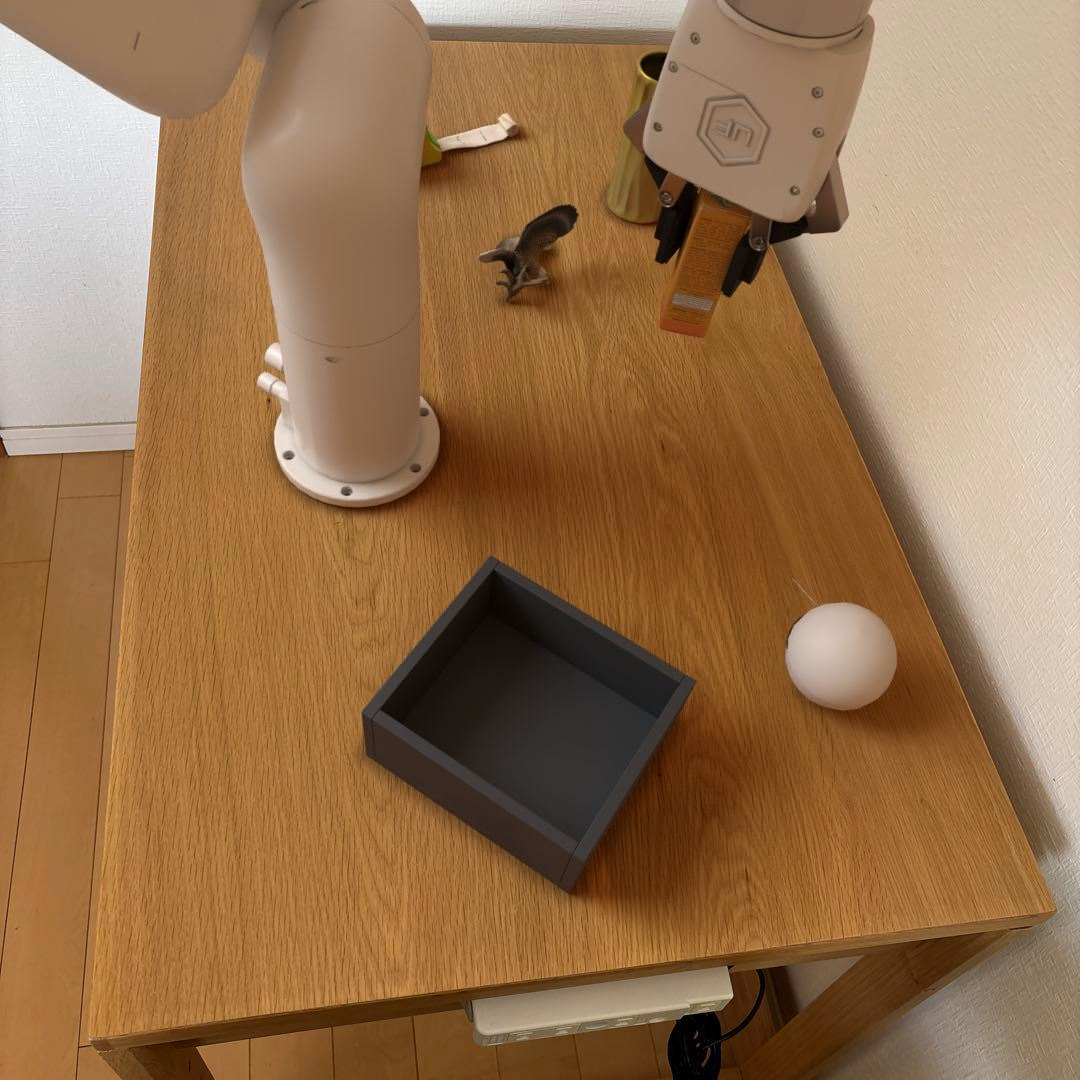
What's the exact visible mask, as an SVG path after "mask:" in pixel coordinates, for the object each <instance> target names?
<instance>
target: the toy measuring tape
mask: <svg viewBox="0 0 1080 1080" xmlns="http://www.w3.org/2000/svg"><path fill="white" fill-rule="evenodd" d="M497 121H498V122H497V123H493V124H492V125H485V126H481V127H477V128H475V129H474V128H473V129H471V130H467V131H465V132H461V133H456V134H452V135H448V136H445V137H442V138H438V139H436V138H435V137H434V136H433V134H432V132H431V131H430V130H429V127H428V123H427V122H426V130H425V137H424V144H423V152H422V162H421V167H425V166H430V165H433V164H437V163H440V162H441V161H442V158H443V153H444V152H447V151H449V150H450V151H451V150H455V149H465V148H466V149H467V148H468V149H469V148H474V149H476V148H477V147H478V148H479V147H484V146H488V145H491V144H494V143H498V142H500V141H503V140H506V139H507V138H508V137H510V138H513V137H514V136H515V135H517V133H518V132H519V128H520V127H519V125H518V124H517V123H516V121H515V120H514V119H513V117H512V116H511V114H510V113H508V112H507V113H506V112H505V113H502V114H501V115H500V116H499V117H498V118H497Z"/></svg>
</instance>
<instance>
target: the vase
mask: <svg viewBox="0 0 1080 1080" xmlns="http://www.w3.org/2000/svg"><path fill="white" fill-rule="evenodd" d="M668 51H669V49H659V48H658V49H652V50H648V51H646V52H644V53H642V54H641V55H640V56H639V57H638V59H637V61H636V64H635V69H634V75H633V79H632V80H633V81H632V84H631V89H630V95H629V100H628V104H627V108H626V113H625V117H624V121H623V122H624V123H625V122H626V121H627V120H628V119H629V118H630V117H631V116H632V115H633V114H634V113H635V112H636V111H637V110H638V109H640V108H641V107H642V106H643V105H645V104H646V103H647V102H648V101H650V100H651V99H652V98H653V96H654V93H655V90H656V87H657V84H658V81H659V78H660V75H661V72H662V69H663V66H664V63H665V60H666V57H667V54H668ZM624 123H623V124H624ZM659 126H660V125H659ZM659 128H660V127H659ZM644 158H645V157H644V156H643V154H640V153H639V152H638V150H637V149H636V148H635V146H634V145H633V144H632V142H631V141H630V140H629V139H628V137H627V136H626V135H625V133H624V131H623V130H622V132H621V135H620V141H619V145H618V149H617V154H616V158H615V163H614V166H613V170H612V173H611V178H610V183H609V187H608V190H607V192H606V196H605V197H606V198H605V199H606V204H607V206H608V208H609V209H610V210H611V212H612V213H613V214H614V215H615V216H617V217H619V218H620V219H622V220H624V221H627V222H630V223H634V224H641V225H642V224H652V223H655V222H658V219H659V215H660V212H661V208H662V205H661V204H660V203H659V201H658V199H657V194H658V192H659V189H658V187H657V185H656V183H655V181H654V179H653V178H652V176H651V174H650V172H649V170H648V168H647V166H646V164H645V161H644Z"/></svg>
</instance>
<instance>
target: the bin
mask: <svg viewBox="0 0 1080 1080" xmlns="http://www.w3.org/2000/svg"><path fill="white" fill-rule="evenodd" d="M697 682H698V681H697V680H696V679H695V678H693V677H692V676H690V675H688V674H686V673H685V672H684V671H682V670H680V669H679V668H677V667H675V666H673V665H671V664H670V663H669V662H668V661H665V660H663V659H662V658H660V657H659V656H657V655H655V654H653V652H651V651H649V650H647V649H645V648H644V647H642V646H641V645H639V644H638V643H636V642H634V641H633V640H631V639H629V638H628V637H626V636H624V635H623V634H621V633H620V632H617V631H616V630H614V629H613V628H611V627H609V626H608V625H606V624H605V623H604V622H601V621H600V620H598V619H596V618H595V617H593V616H592V615H589V614H588V613H587V612H585V611H583V610H581V609H580V608H578V607H576V606H575V605H573V604H572V603H570V602H568V601H566V600H565V599H564V598H562V597H561V596H559V595H557V594H555V593H553V592H552V591H550V590H548V589H547V588H545V587H544V586H542V584H541V585H540V584H539V583H537V582H535V581H534V580H532V579H531V578H529V577H527V576H526V575H524V574H523V573H521V572H519V571H518V570H516V569H514V568H513V567H511V566H509V565H507V564H506V563H504V562H503V561H501V560H500V559H499V558H496V557H495V556H493V555H492V554H491V555H489V556H488V557H487V559H486V560H485V561H484V562H483V563H482V565H481V566H480V567H479V568H478V569H477V571H476V572H475V573H474V575H472V577H471V578H470V579H469V580H468V582H467V583H466V584H465V585H464V586H463V588H462V589H461V590H460V591H459V593H458V594H457V595H456V596H455V598H453V600H452V601H451V602H450V603H449V604H448V606H447V607H446V608H445V610H444V611H443V612H442V613H441V615H440V616H439V617H438V618H437V619H436V620H435V622H434V623H433V624H432V625H431V626H430V627H429V629H428V630H427V632H426V633H425V634H424V635H423V636H422V637H421V638H420V640H419V641H418V642H417V644H416V645H415V646H414V647H413V648H412V650H410V652H409V653H408V655H406V657H405V658H404V659H403V660H402V662H401V663H400V664H399V665H398V666H397V668H396V669H394V671H393V672H392V674H391V675H390V676H389V677H388V678H387V680H386V681H385V682H384V684H383V685H382V686H381V687H380V688H379V689H378V691H377V692H376V693H375V695H374V696H373V697H372V698H371V700H370V701H369V702H368V703H367V704H366V705H365V707H363V709H362V710H361V712H360V714H361V721H362V729H363V730H362V731H363V739H364V747H365V756H366V757H368V758H370V759H371V760H372V761H374V762H375V763H377V764H378V765H379V766H381V767H383V768H384V769H385V770H387V771H389V772H390V773H391V774H393V775H395V777H397V778H398V779H400V780H401V781H403V782H405V783H406V784H408V785H409V786H410V787H412V789H415V790H416V791H417V792H419V793H421V794H422V795H423V796H425V797H426V798H427V799H429V800H431V801H432V802H433V803H435V804H437V805H438V806H439V807H441V808H443V810H445V811H447V812H448V813H450V814H451V815H453V816H454V817H455V818H457V819H458V820H460V821H461V822H463V823H464V824H465V825H467V826H468V827H470V828H472V829H473V830H475V831H476V832H477V833H478V834H480V835H481V836H483V837H485V838H486V839H488V840H489V841H490V842H492V843H493V844H495V845H497V846H498V847H499V848H501V849H502V850H504V851H505V852H507V853H508V854H510V855H511V856H512V857H514V858H515V859H516V860H518V861H519V862H521V863H523V864H524V865H526V866H527V867H528V868H529V869H531V870H533V871H534V872H536V873H537V874H539V875H540V876H541V877H543V878H545V879H546V880H547V881H549V882H550V883H552V884H554V885H555V886H556V887H558V888H559V889H560V890H562V891H563V892H565V893H566V894H571V892H572V891H573V889H574V887H575V885H576V884H577V882H578V881H579V879H580V877H581V876H582V875H583V872H584V871H585V869H586V868H587V866H588V864H589V863H590V861H591V860H592V858H593V856H594V855H595V853H596V851H597V850H598V848H599V847H600V846H601V843H602V842H603V840H604V839H605V837H606V835H607V834H608V832H609V830H610V829H611V827H612V826H613V824H614V822H615V821H616V819H617V818H618V816H619V815H620V813H621V811H622V810H623V808H624V806H625V805H626V803H627V801H628V800H629V798H630V797H631V796H632V793H633V791H634V790H635V788H636V787H637V785H638V783H639V782H640V780H641V779H642V777H643V776H644V774H645V772H646V770H647V769H648V767H649V766H650V764H651V762H652V761H653V759H654V758H655V756H656V754H657V753H658V751H659V749H660V747H661V746H662V745H663V743H664V742H665V740H666V739H667V736H668V735H669V733H670V732H671V730H672V729H673V727H674V726H675V723H676V721H677V719H678V718H679V716H680V714H681V712H682V710H683V708H684V707H685V704H686V703H687V701H688V699H689V697H690V696H691V693H692V692H693V690H694V688H695V686H696V685H697Z"/></svg>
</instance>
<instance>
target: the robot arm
mask: <svg viewBox="0 0 1080 1080" xmlns="http://www.w3.org/2000/svg"><path fill="white" fill-rule="evenodd" d="M873 2H874V0H688V1H687V3H686V5H685V7H684V10H683V12H682V15H681V18H680V19H679V21H678V25H677V27H676V30H675V33H674V35H673V38H672V40H671V42H670V46H669V48H668V50H669V51H668V54H667V57H666V60H665V63H664V66H663V69H662V72H661V75H660V78H659V81H658V84H657V87H656V90H655V93H654V96H653V98H652V99H651V100H650V101H648V102H647V103H646V104H645V105H643V106H642V107H641V108H640V109H638V110H637V111H636V112H635V113H634V114H633V115H632V116H631V117H630V118H629V119H628V120H627V121H626V122H625V121H624V122H625V123H623V125H622V131H624V133H625V135H626V136H627V137H628V139H629V140H630V141H631V142H632V144H633V145H634V146H635V148H636V149H637V150H638V152H639V153H640V154H643V156H644V157H645V158H644V161H645V164H646V166H647V168H648V170H649V172H650V174H651V176H652V178H653V179H654V181H655V183H656V185H657V187H658V189H659V192H658V194H657V199H658V201H659V203H660V204H661V205H662V208H661V212H660V215H659V219H658V220H657V222H656V227H655V231H654V233H653V234H654V235H653V239H655V240H657V241H659V242H658V246H657V250H656V254H655V258H654V262H655V263H658V264H660V265H664V264H665V265H667V264H668V263H669V262H670V261H671V259H672V258H673V256H674V255H675V254H677V252H678V251H679V248H680V245H681V242H682V239H683V236H684V234H685V231H686V228H687V225H688V222H689V219H690V217H691V214H692V211H693V208H694V205H695V203H696V200H697V197H698V194H699V188H700V189H701V188H703V189H705V190H707V191H709V192H711V193H714V194H716V195H718V196H720V197H722V198H724V199H726V200H728V201H730V202H733V203H735V204H737V205H739V206H741V207H743V208H745V209H748V210H750V211H752V217H751V219H750V223H749V228H748V229H747V230H746V231H745V234H744V236H743V238H742V239H741V240H740V241H739V243H738V244H737V246H736V249H735V251H734V254H733V257H732V260H731V262H730V265H729V268H728V271H727V274H726V276H725V279H724V282H723V285H722V288H721V291H722V293H721V295H723V296H724V297H727V298H728V299H731V297H732V296H733V295H734V293H735V292H736V291H737V290H738V289H739V287H740V285H741V284H742V283H745V284H748V285H749V286H750V285H751V284H752V283H753V282H754V281H755V279H756V277H757V275H758V274H759V272H760V270H761V267H762V266H763V263H764V261H765V258H766V255H767V253H768V250H769V247H770V246H771V245H772V246H773V245H775V244H779V243H782V242H784V241H789V240H792V239H796V238H799V237H801V236H802V235H803V234H809V235H818V234H819V235H820V234H830V233H831V234H832V233H833V234H834V233H838V232H839V231H840V230H841V229H842V228H843V226H844V225H845V223H846V221H847V220H848V219H849V216H850V211H849V205H848V201H847V197H846V191H845V186H844V182H843V177H842V172H841V168H840V167H841V166H840V163H839V158H840V156H841V154H842V153H841V152H842V150H843V148H844V145H845V142H846V139H847V136H848V133H849V131H850V128H851V124H852V121H853V119H854V115H855V112H856V108H857V106H858V102H859V99H860V96H861V92H862V89H863V85H864V81H865V78H866V74H867V70H868V65H869V61H870V58H871V53H872V48H873V42H874V36H875V30H876V24H875V20H874V17H873V16H872V15H871V14H869V12H870V9H871V6H872V4H873ZM0 24H1V25H2V26H4V27H6V28H7V29H9V30H10V31H12V32H13V33H15V34H17V35H18V36H20V37H21V38H23V39H24V40H25V41H28V42H29V43H31V44H32V45H34V46H35V47H37V48H39V49H40V50H42V51H43V52H45V53H46V54H48V55H50V56H51V57H53V58H55V59H56V60H57V61H58V62H61V63H62V64H64V65H65V66H67V67H69V68H70V69H72V70H73V71H74V72H76V73H78V74H79V75H80V76H83V77H84V78H86V79H87V80H89V81H90V82H92V83H93V84H95V85H97V86H98V87H100V88H102V89H103V90H104V91H106V92H108V93H109V94H111V95H113V96H115V97H116V98H118V99H120V100H122V101H123V102H125V103H127V104H128V105H130V106H132V107H134V108H136V109H137V110H140V111H142V112H144V113H147V114H149V115H152V116H155V117H158V118H162V119H166V120H173V121H174V120H191V119H195V118H196V117H199V116H201V115H204V114H206V113H208V112H209V111H211V110H212V109H213V108H214V107H215V106H216V105H217V104H218V103H219V102H220V101H221V100H222V99H223V98H224V97H225V96H226V94H227V93H228V92H229V90H230V88H231V86H232V84H233V82H234V80H235V78H236V76H237V74H238V72H239V70H240V67H241V66H242V64H243V61H244V58H245V56H246V54H247V55H249V56H251V57H252V58H254V59H255V60H257V61H258V62H259V63H261V64H262V65H263V66H262V69H261V70H260V71H261V72H260V74H259V78H258V82H257V85H256V88H255V91H254V95H253V98H252V101H251V105H250V108H249V113H248V116H247V121H246V125H245V126H246V127H245V129H244V135H243V141H242V150H241V151H242V152H241V182H242V188H243V194H244V198H245V201H246V205H247V208H248V211H249V213H250V216H251V219H252V222H253V225H254V227H255V230H256V232H257V236H258V239H259V242H260V247H261V249H262V254H263V258H264V263H265V264H264V265H265V268H266V274H267V280H268V284H269V291H270V292H269V293H270V297H271V303H272V307H273V311H274V317H275V323H276V331H277V336H278V341H277V342H273V343H272V344H270V345H269V347H268V348H267V350H266V351H265V354H264V362H265V364H266V365H267V366H269V367H271V368H273V369H275V370H276V371H278V372H280V373H281V374H283V375H284V380H285V382H284V381H282V380H281V379H280V378H279V377H277V376H275V374H272V373H271V372H268V371H263V372H262V373H261V374H260V375H259V377H258V378H257V381H256V386H257V387H258V388H259V389H260V390H262V391H264V392H266V393H267V394H268V395H271V396H274V397H275V398H277V399H278V402H279V404H280V410H281V411H280V413H279V415H278V417H277V419H276V424H275V427H274V432H273V434H274V435H273V436H274V437H273V438H274V439H273V441H274V442H273V445H274V449H275V455H276V459H277V461H278V463H279V466H280V468H281V471H282V472H283V473H284V475H285V476H286V478H287V479H288V480H289V481H290V482H291V483H292V484H293V485H294V486H295V487H296V489H298V490H299V491H301V492H302V493H304V494H306V495H307V496H309V497H310V498H312V499H314V500H318V501H320V502H322V503H325V504H329V505H334V506H337V507H338V506H339V507H345V508H366V507H376V506H379V505H383V504H387V503H390V502H393V501H395V500H397V499H400V498H402V497H404V496H406V495H407V494H409V493H410V492H412V491H414V490H415V489H416V488H418V487H419V486H420V485H421V484H422V483H423V482H424V481H425V480H426V478H427V477H428V476H429V474H430V473H431V472H432V470H433V468H434V467H435V464H436V462H437V459H438V457H439V451H440V444H441V437H440V436H441V434H440V426H439V421H438V418H437V416H436V413H435V411H434V410H433V408H432V406H431V405H430V404H429V402H428V401H427V400H426V398H425V397H424V396H422V395H421V259H420V257H421V256H420V255H421V253H420V237H419V235H420V234H419V233H420V232H419V199H420V198H419V197H420V181H421V171H422V170H421V169H422V166H421V162H422V152H423V144H424V137H425V130H426V123H427V119H428V116H427V115H428V108H429V102H430V101H429V100H430V93H431V84H432V76H433V49H432V43H431V37H430V34H429V31H428V28H427V25H426V23H425V21H424V18H423V17H422V16H421V14H420V12H419V10H418V8H417V7H416V5H415V4H414V3H413V2H412V0H0ZM659 125H660V126H659ZM659 127H660V128H659ZM814 202H815V203H814Z"/></svg>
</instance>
